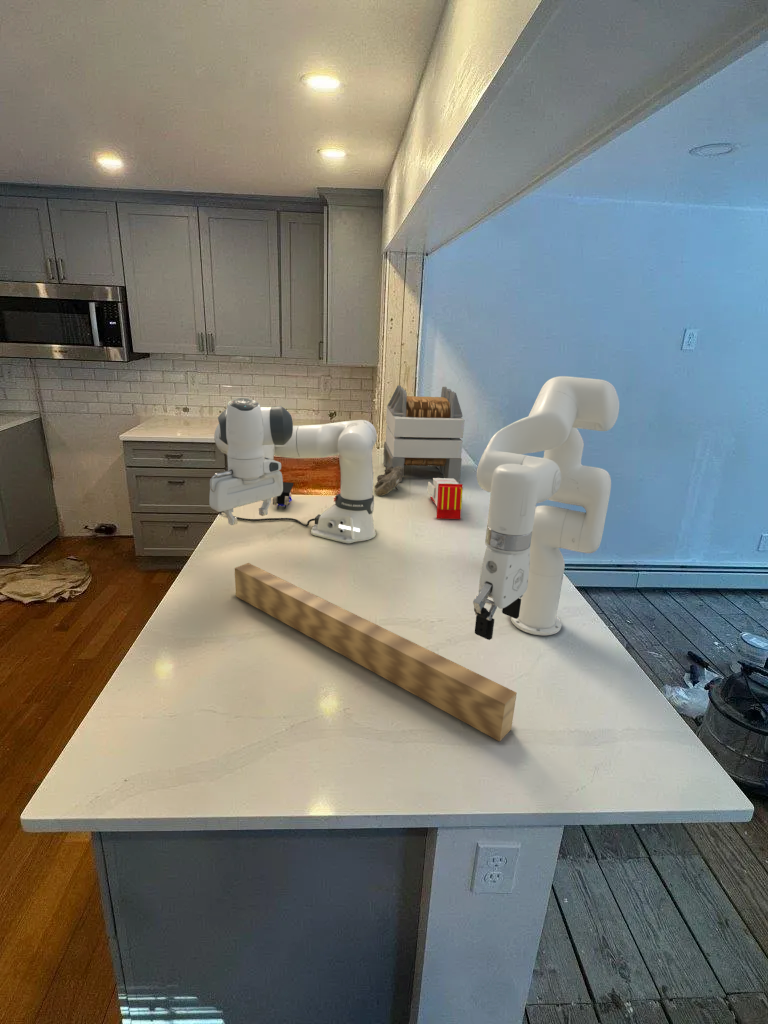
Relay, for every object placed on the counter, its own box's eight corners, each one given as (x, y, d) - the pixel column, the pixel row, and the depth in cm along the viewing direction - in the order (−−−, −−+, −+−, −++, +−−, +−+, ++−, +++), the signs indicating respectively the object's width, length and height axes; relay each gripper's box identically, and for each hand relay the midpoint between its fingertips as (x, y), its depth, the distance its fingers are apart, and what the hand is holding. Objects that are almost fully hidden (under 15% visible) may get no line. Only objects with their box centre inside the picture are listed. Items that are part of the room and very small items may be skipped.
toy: (455, 474, 240) (467, 485, 211) (453, 505, 243) (464, 520, 214) (426, 473, 240) (434, 484, 211) (425, 504, 243) (432, 519, 213)
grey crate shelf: (382, 463, 289) (386, 382, 275) (445, 464, 293) (451, 384, 279) (390, 482, 257) (394, 392, 243) (460, 483, 261) (468, 394, 247)
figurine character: (289, 514, 217) (294, 497, 231) (289, 496, 214) (294, 480, 227) (272, 513, 217) (278, 497, 230) (271, 495, 214) (277, 480, 227)
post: (235, 596, 152) (234, 567, 150) (249, 590, 156) (248, 562, 153) (499, 741, 105) (505, 704, 102) (511, 729, 108) (516, 692, 106)
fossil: (373, 472, 257) (399, 454, 252) (386, 488, 260) (412, 470, 255) (367, 491, 238) (396, 472, 233) (381, 508, 240) (410, 490, 235)
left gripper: (217, 477, 129) (221, 533, 134) (286, 462, 144) (287, 513, 149) (201, 471, 133) (205, 526, 138) (270, 457, 148) (271, 507, 153)
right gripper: (503, 559, 87) (491, 654, 93) (551, 530, 100) (537, 615, 106) (461, 545, 92) (452, 636, 98) (512, 519, 104) (502, 601, 110)
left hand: (248, 519), depth 144 cm, fingers open, 8 cm apart
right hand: (497, 625), depth 102 cm, fingers open, 9 cm apart
